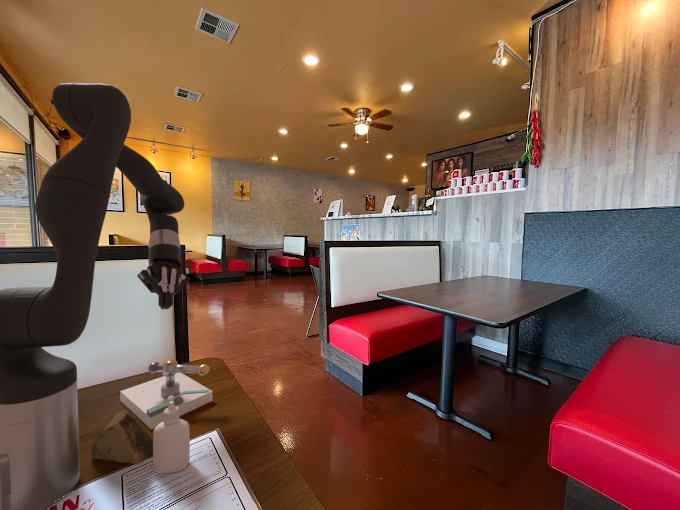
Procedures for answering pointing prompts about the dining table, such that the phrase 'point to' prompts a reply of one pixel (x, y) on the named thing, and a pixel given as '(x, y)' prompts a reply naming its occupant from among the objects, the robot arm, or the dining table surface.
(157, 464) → the eye dropper bottle
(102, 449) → the rock
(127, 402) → the stand
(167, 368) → the crank handle
